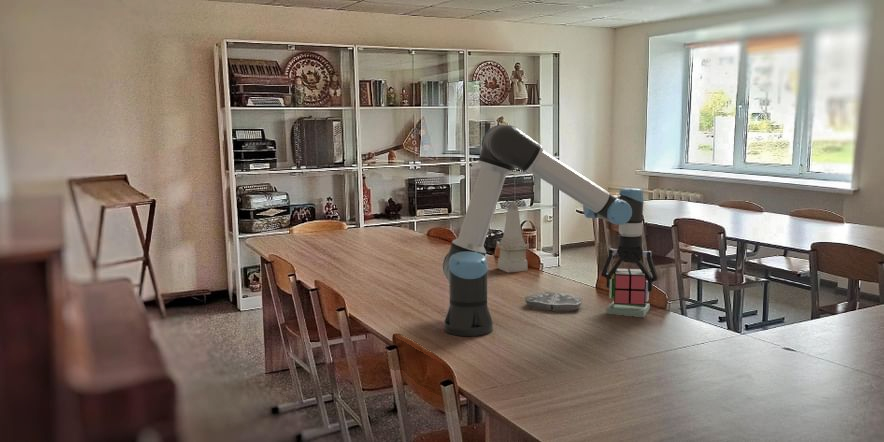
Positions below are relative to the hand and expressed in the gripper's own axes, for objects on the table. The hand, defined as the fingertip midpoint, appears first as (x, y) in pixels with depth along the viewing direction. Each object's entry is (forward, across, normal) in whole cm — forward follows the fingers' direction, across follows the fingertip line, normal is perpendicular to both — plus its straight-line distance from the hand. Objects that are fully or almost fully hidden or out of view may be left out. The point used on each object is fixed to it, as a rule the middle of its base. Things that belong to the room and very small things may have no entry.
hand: (628, 299), depth 233 cm
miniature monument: (+4, +59, -49) cm, 77 cm away
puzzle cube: (+1, 0, 0) cm, 1 cm away
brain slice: (+5, +25, +3) cm, 26 cm away
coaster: (+4, 0, 0) cm, 4 cm away
